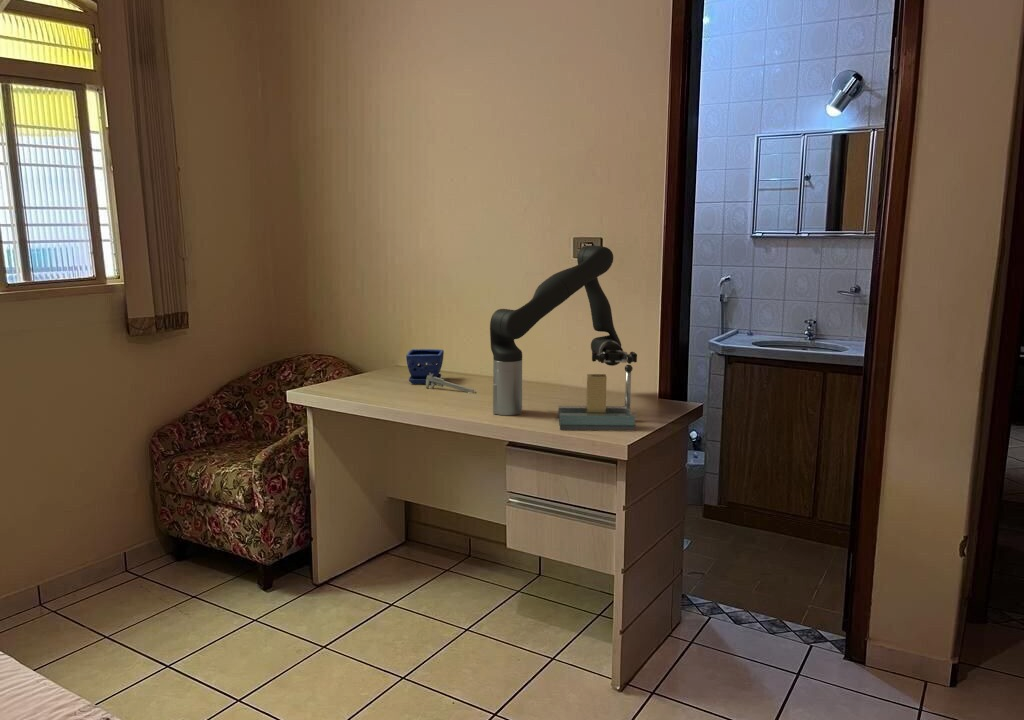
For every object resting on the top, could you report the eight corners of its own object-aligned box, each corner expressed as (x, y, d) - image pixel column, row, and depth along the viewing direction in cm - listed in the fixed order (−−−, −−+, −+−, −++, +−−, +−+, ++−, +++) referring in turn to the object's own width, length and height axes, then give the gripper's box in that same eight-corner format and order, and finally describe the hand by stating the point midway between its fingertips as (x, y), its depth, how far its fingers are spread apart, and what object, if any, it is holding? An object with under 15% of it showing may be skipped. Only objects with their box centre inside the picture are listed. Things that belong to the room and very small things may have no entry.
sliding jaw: (558, 414, 246) (559, 363, 243) (630, 414, 246) (632, 364, 243) (558, 416, 243) (559, 365, 240) (632, 417, 242) (633, 366, 239)
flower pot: (441, 385, 297) (440, 354, 295) (406, 385, 298) (405, 354, 296) (444, 379, 310) (444, 349, 309) (410, 378, 311) (410, 348, 309)
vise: (558, 417, 248) (558, 404, 247) (628, 417, 247) (628, 404, 247) (560, 430, 232) (560, 416, 231) (635, 430, 231) (635, 416, 231)
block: (586, 419, 240) (587, 374, 238) (604, 419, 240) (605, 374, 238) (587, 422, 236) (587, 376, 234) (605, 422, 236) (606, 376, 234)
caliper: (425, 389, 292) (425, 372, 290) (427, 388, 293) (427, 372, 291) (475, 394, 284) (475, 376, 282) (476, 393, 284) (476, 376, 283)
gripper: (589, 341, 262) (594, 347, 246) (632, 341, 262) (639, 348, 246) (589, 363, 263) (593, 371, 247) (631, 364, 263) (638, 372, 247)
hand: (616, 360), depth 247 cm, fingers open, 8 cm apart
